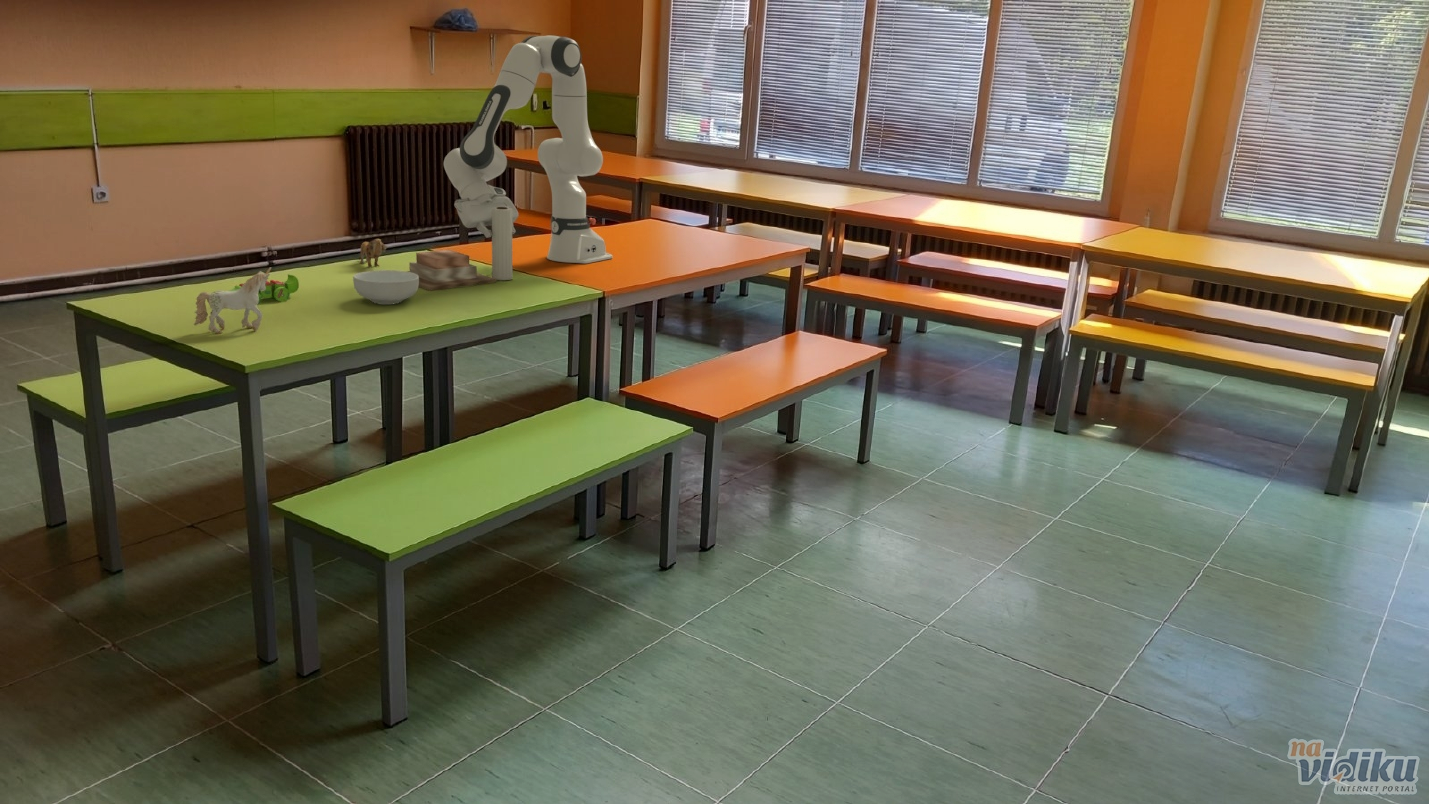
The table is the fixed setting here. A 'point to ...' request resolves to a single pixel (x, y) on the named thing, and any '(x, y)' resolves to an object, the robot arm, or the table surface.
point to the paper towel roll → (502, 243)
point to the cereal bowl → (386, 285)
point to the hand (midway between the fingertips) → (501, 234)
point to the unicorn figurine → (233, 303)
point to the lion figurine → (372, 251)
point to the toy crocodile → (277, 289)
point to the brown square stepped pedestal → (446, 270)
